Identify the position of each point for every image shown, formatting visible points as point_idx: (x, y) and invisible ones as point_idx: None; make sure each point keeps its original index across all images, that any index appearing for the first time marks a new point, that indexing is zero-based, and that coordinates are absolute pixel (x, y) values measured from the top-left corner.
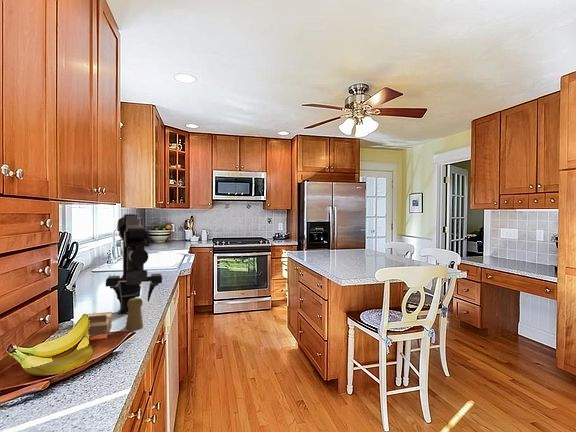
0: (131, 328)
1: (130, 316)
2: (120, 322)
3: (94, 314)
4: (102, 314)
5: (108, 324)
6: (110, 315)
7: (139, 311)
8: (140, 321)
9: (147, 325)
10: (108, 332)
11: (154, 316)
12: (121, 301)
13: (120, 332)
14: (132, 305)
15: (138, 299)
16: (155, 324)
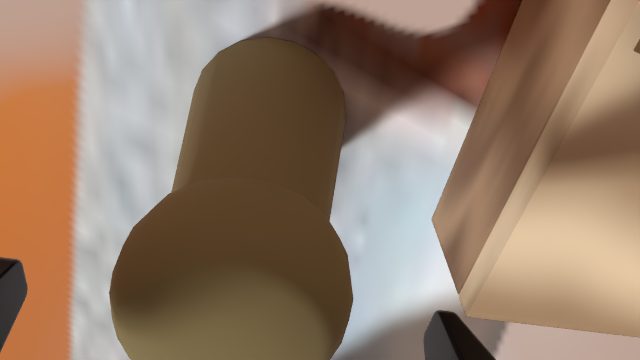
0: (301, 55)
1: (309, 136)
2: (356, 273)
3: (623, 308)
4: (566, 281)
5: (552, 73)
6: (503, 238)
7: (192, 161)
8: (205, 93)
9: (155, 121)
10: (511, 51)
11: (109, 290)
12: (447, 341)
13: (398, 51)
14: (282, 205)
15: (161, 311)
16: (81, 113)
